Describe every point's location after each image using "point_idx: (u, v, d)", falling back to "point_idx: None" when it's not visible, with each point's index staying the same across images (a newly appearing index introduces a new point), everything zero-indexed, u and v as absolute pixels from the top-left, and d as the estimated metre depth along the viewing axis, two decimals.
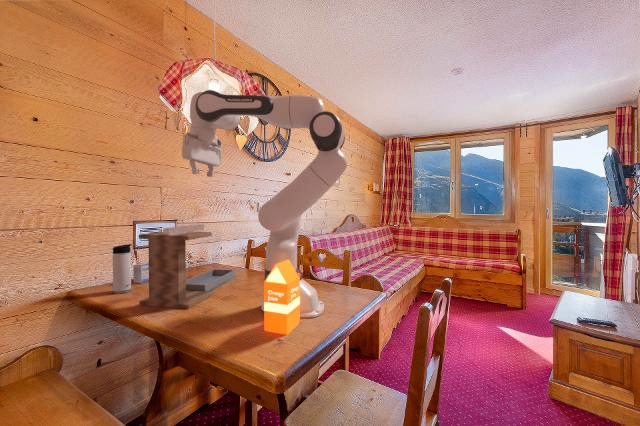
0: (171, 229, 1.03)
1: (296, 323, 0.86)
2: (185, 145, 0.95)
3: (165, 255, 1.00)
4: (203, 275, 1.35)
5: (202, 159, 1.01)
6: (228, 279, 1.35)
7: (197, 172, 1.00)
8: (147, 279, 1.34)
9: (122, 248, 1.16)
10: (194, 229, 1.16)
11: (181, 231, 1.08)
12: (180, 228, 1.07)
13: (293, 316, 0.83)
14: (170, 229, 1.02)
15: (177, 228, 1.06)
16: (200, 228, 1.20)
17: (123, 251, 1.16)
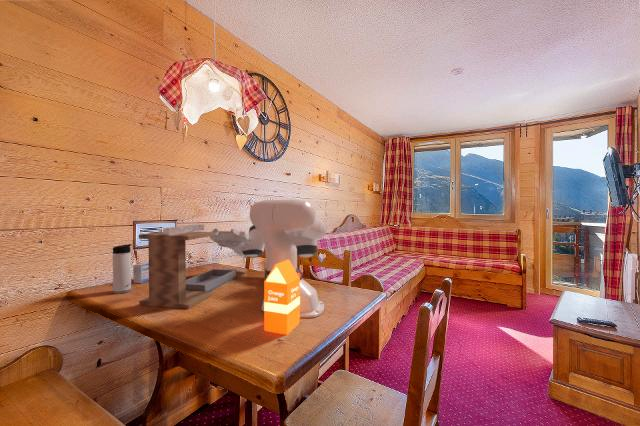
0: (171, 229, 1.03)
1: (296, 323, 0.86)
2: (248, 237, 1.44)
3: (165, 255, 1.00)
4: (203, 275, 1.35)
5: (233, 237, 1.41)
6: (228, 279, 1.35)
7: (232, 232, 1.37)
8: (147, 279, 1.34)
9: (122, 248, 1.16)
10: (194, 229, 1.16)
11: (181, 231, 1.08)
12: (180, 228, 1.07)
13: (293, 316, 0.83)
14: (170, 229, 1.02)
15: (177, 228, 1.06)
16: (200, 228, 1.20)
17: (123, 251, 1.16)
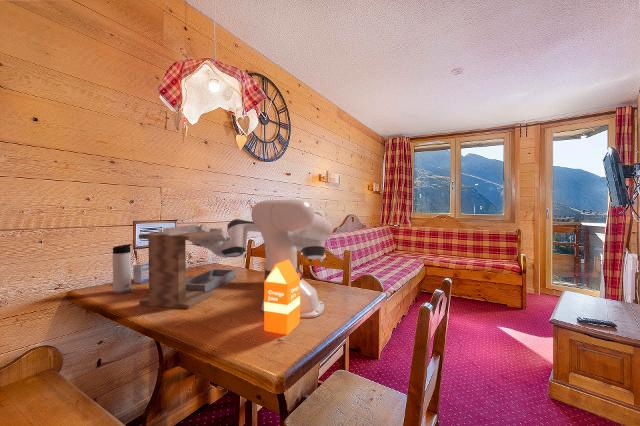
0: (171, 229, 1.03)
1: (296, 323, 0.86)
2: (226, 235, 1.26)
3: (165, 255, 1.00)
4: (203, 275, 1.35)
5: None
6: (228, 279, 1.35)
7: (200, 229, 1.19)
8: (147, 279, 1.34)
9: (122, 248, 1.16)
10: (194, 229, 1.16)
11: (181, 231, 1.08)
12: (180, 228, 1.07)
13: (293, 316, 0.83)
14: (170, 229, 1.02)
15: (177, 228, 1.06)
16: None
17: (123, 251, 1.16)
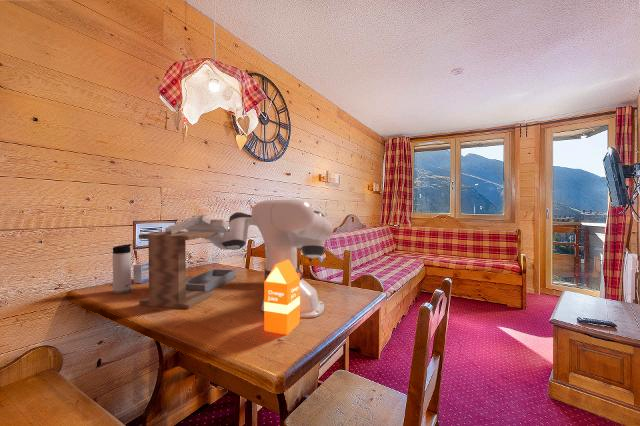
0: (173, 228, 1.04)
1: (296, 323, 0.86)
2: (227, 226, 1.27)
3: (165, 255, 1.00)
4: (203, 275, 1.35)
5: (209, 226, 1.24)
6: (228, 279, 1.35)
7: (201, 219, 1.20)
8: (147, 279, 1.34)
9: (122, 248, 1.16)
10: (195, 222, 1.17)
11: (183, 227, 1.09)
12: (182, 225, 1.09)
13: (293, 316, 0.83)
14: (172, 228, 1.03)
15: (179, 226, 1.07)
16: None
17: (123, 251, 1.16)
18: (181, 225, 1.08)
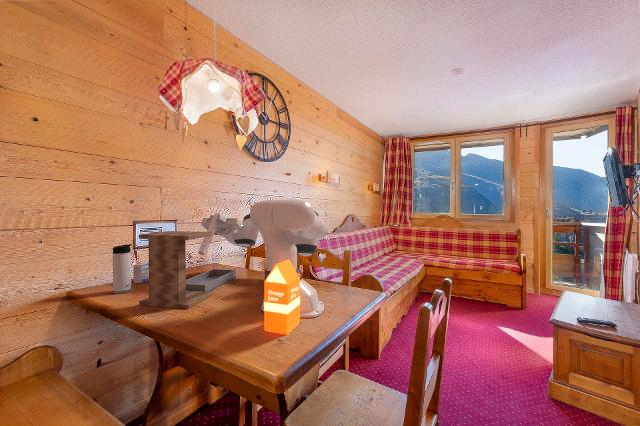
0: (204, 250, 1.24)
1: (296, 323, 0.86)
2: (241, 224, 1.41)
3: (165, 255, 1.00)
4: (203, 275, 1.35)
5: (225, 224, 1.38)
6: (228, 279, 1.35)
7: (218, 218, 1.34)
8: (147, 279, 1.34)
9: (122, 248, 1.16)
10: (216, 226, 1.33)
11: (210, 241, 1.28)
12: (208, 240, 1.27)
13: (293, 316, 0.83)
14: (203, 251, 1.24)
15: (206, 243, 1.26)
16: None
17: (123, 251, 1.16)
18: (208, 241, 1.27)
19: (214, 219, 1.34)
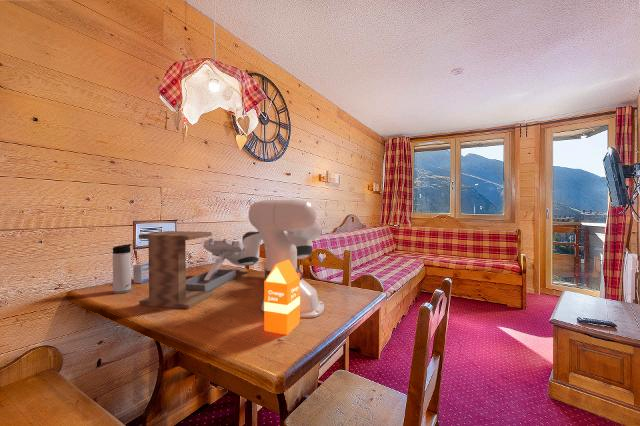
0: (210, 278, 1.28)
1: (296, 323, 0.86)
2: (243, 246, 1.43)
3: (165, 255, 1.00)
4: (203, 275, 1.35)
5: (227, 247, 1.40)
6: (228, 279, 1.35)
7: (224, 242, 1.35)
8: (147, 279, 1.34)
9: (122, 248, 1.16)
10: (224, 258, 1.40)
11: (216, 271, 1.33)
12: (215, 270, 1.32)
13: (293, 316, 0.83)
14: (209, 279, 1.28)
15: (213, 272, 1.31)
16: (227, 252, 1.43)
17: (123, 251, 1.16)
18: (214, 270, 1.32)
19: (223, 251, 1.41)
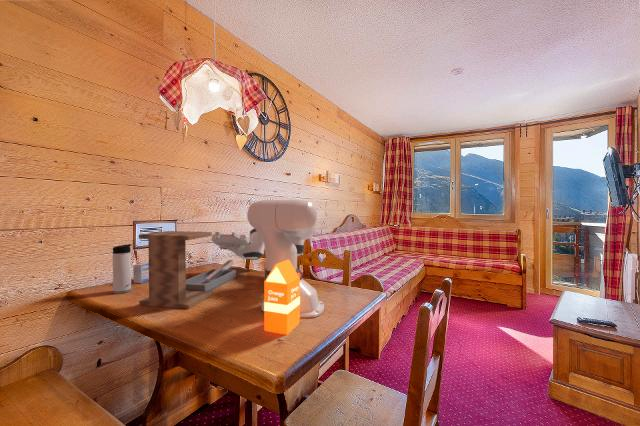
0: (211, 278, 1.29)
1: (296, 323, 0.86)
2: (249, 240, 1.49)
3: (165, 255, 1.00)
4: (203, 275, 1.35)
5: (234, 240, 1.46)
6: (228, 279, 1.35)
7: (233, 235, 1.42)
8: (147, 279, 1.34)
9: (122, 248, 1.16)
10: (226, 268, 1.43)
11: (218, 275, 1.35)
12: (217, 273, 1.34)
13: (293, 316, 0.83)
14: (210, 278, 1.29)
15: (215, 275, 1.32)
16: (230, 264, 1.47)
17: (123, 251, 1.16)
18: (216, 274, 1.34)
19: (227, 262, 1.45)
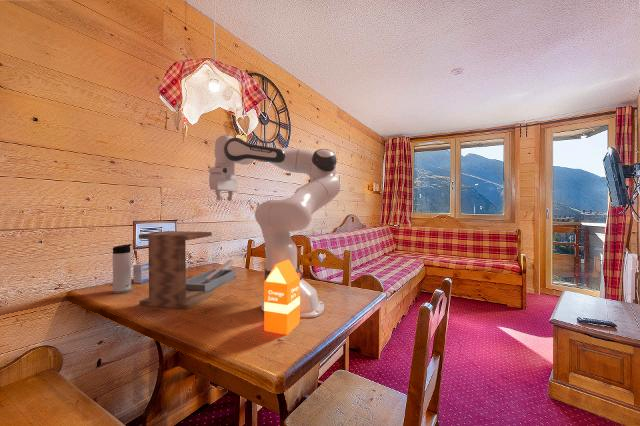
0: (211, 278, 1.29)
1: (296, 323, 0.86)
2: None
3: (165, 255, 1.00)
4: (203, 275, 1.35)
5: None
6: (228, 279, 1.35)
7: None
8: (147, 279, 1.34)
9: (122, 248, 1.16)
10: (226, 268, 1.43)
11: (218, 275, 1.35)
12: (217, 273, 1.34)
13: (293, 316, 0.83)
14: (210, 278, 1.29)
15: (215, 275, 1.32)
16: (230, 264, 1.47)
17: (123, 251, 1.16)
18: (216, 274, 1.34)
19: (227, 262, 1.45)
